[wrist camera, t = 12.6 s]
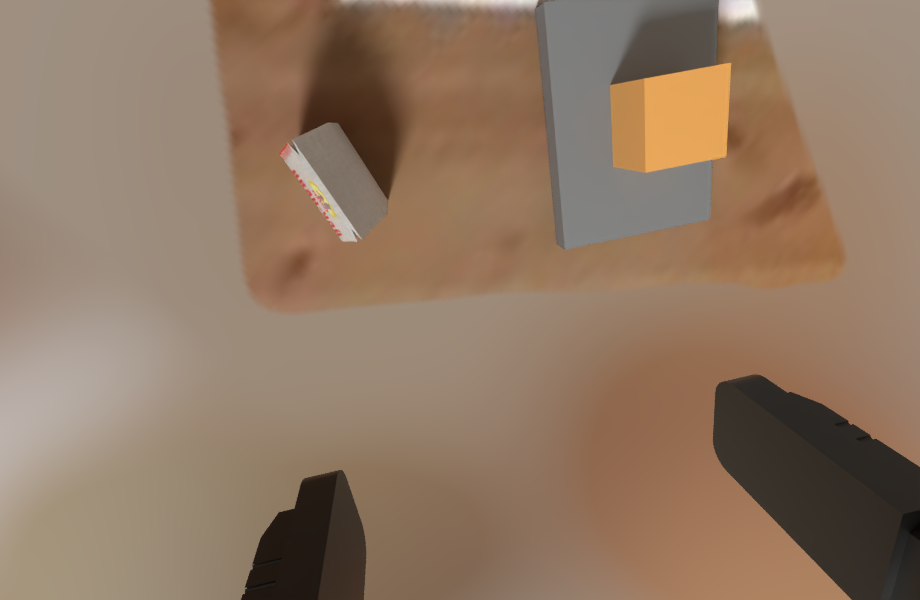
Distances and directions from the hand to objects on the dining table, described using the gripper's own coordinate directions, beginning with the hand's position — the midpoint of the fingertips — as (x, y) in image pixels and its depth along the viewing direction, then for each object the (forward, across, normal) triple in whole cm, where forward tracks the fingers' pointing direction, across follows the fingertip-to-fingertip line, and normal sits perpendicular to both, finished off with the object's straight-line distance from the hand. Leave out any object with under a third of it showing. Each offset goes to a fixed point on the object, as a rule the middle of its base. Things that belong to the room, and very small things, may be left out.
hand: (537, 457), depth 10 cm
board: (+30, -17, -4) cm, 35 cm away
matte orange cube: (+28, -18, -4) cm, 34 cm away
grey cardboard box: (+30, +6, -4) cm, 31 cm away
